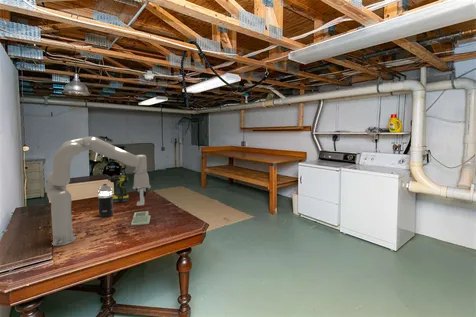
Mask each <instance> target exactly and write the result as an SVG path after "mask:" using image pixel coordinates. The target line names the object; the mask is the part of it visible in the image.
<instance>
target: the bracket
mask: <svg viewBox="0 0 476 317" xmlns="http://www.w3.org/2000/svg"><path fill="white" fill-rule="evenodd" d="M144 205H145V197H144V188H140V197H139V201H137V202H136V206H144Z"/></svg>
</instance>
